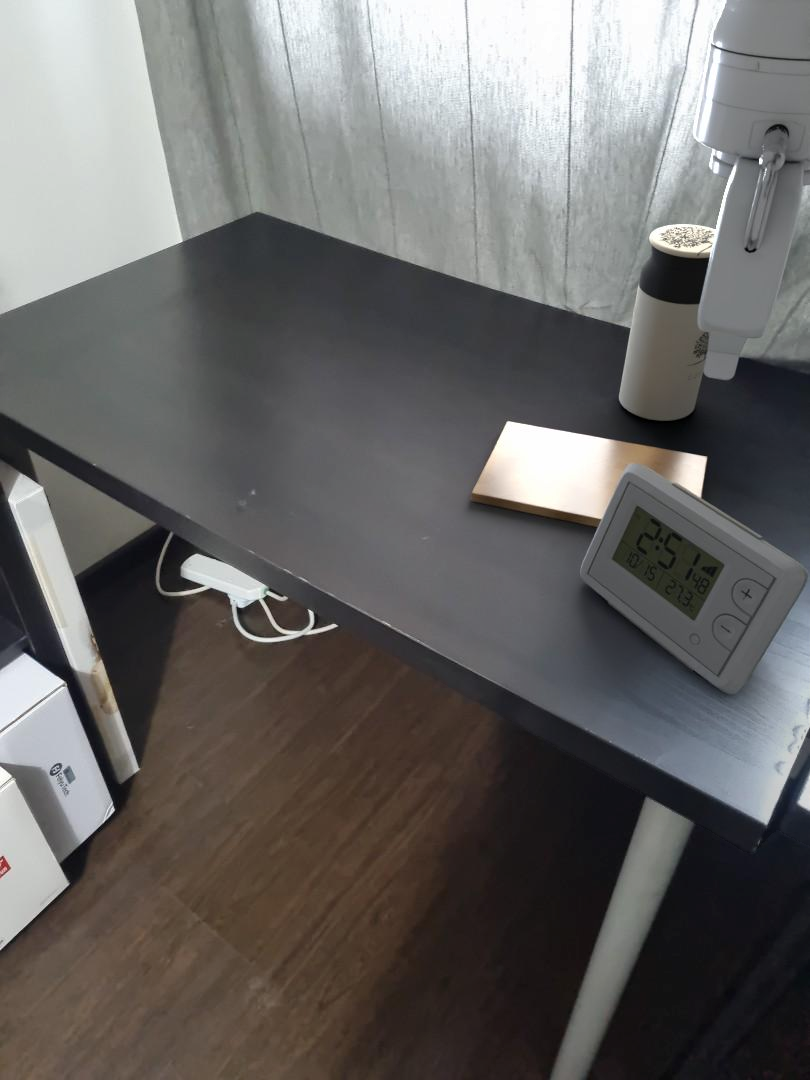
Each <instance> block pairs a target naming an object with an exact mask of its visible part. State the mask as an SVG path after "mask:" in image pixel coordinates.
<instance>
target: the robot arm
mask: <svg viewBox="0 0 810 1080" xmlns="http://www.w3.org/2000/svg"><path fill="white" fill-rule="evenodd" d="M699 92H700V93H699V98H698V102H697V107H696V112H695V114H696V115H695V119H694V125H693V131H692V135H693V137H694V138H695V140H696V141H697V142H698V143H700V144H701V145H703V146H705V147H706V148H709V149H712V152H711V157H710V160H709V168H710V170H711V171H712V172H713V173H714V174H715V175H716V176H718V177H720V178H722V179H724V180H727V181H728V182H727V185H726V188H725V191H724V193H723V194H724V195H723V199H722V202H721V207H720V211H719V215H718V218H717V224H716V229H715V230H716V232H715V237H714V241H713V246H712V250H711V254H710V259H709V263H708V268H707V273H706V277H705V282H704V286H703V291H702V295H701V300H700V304H699V309H698V318H697V323H698V327H699V329H700V330H702V331H704V332H709V343H708V352H707V356H706V361H705V365H704V370H703V375H705V377H707V378H709V379H714V380H721V381H722V380H723V381H730V380H731V379H733V378H734V376H735V374H736V371H737V367H738V363H739V359H740V355H741V353H742V351H743V349H744V346H745V344H746V342H747V340H748V339H759V338H761V337H763V336H764V335H765V333H766V332H767V330H768V328H769V325H770V323H771V320H772V318H773V314H774V311H775V306H776V302H777V299H778V296H779V292H780V288H781V285H782V282H783V281H782V280H783V277H784V273H785V269H786V266H787V263H788V259H789V254H790V250H791V247H792V242H793V240H794V235H795V231H796V227H797V224H798V219H799V214H800V210H801V205H802V197H803V189H804V188H803V187H805V186H810V0H723V4H722V7H721V9H720V12H719V14H718V16H717V18H716V20H715V23H714V24H713V27H712V30H711V34H710V37H709V43H708V49H707V56H706V61H705V65H704V71H703V77H702V83H701V88H700V90H699Z"/></svg>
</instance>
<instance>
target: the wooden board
mask: <svg viewBox="0 0 810 1080" xmlns="http://www.w3.org/2000/svg"><path fill="white" fill-rule="evenodd" d="M630 463H638V464H641V465H644V466H646V467H648V468H650V469H651V470H653V471H655V472H656V473H658V474H659V475H661V476H662V477H664V478H666V479H667V480H669V481H670V482H672V483H678V484H679V485H681V486H682V487H684V488H686V489H687V490H689V491H690V492H692V493H693V494H695V495H697V496H698V497H700V498H701V499H702V497H703V491H704V483H705V477H706V470H707V464H708V456H704V455H700V454H694V453H688V452H683V451H677V450H673V449H672V450H671V449H665V448H661V447H655V446H649V445H643V444H639V443H638V444H637V443H632V442H628V441H627V442H626V441H621V440H616V439H610V438H604V437H599V436H593V435H587V434H583V433H582V434H581V433H576V432H570V431H565V430H559V429H553V428H548V427H543V426H537V425H531V424H526V423H520V422H515V421H509V420H508V421H506V423H505V425H504V427H503V430H502V431H501V433H500V435H499V437H498V439H497V441H496V443H495V445H494V447H493V450H492V451H491V453H490V456H489V457H488V459H487V462H486V463H485V465H484V467H483V469H482V471H481V474H480V475H479V478H478V479H477V481H476V484H475V485H474V487H473V490H472V492H471V497H470V501H471V502H475V503H478V504H484V505H489V506H493V507H499V508H503V509H507V510H513V511H517V512H521V513H528V514H532V515H537V516H542V517H546V518H551V519H556V520H561V521H565V522H571V523H575V524H579V525H585V526H590V527H595V528H598V526H599V524H600V522H601V520H602V517H603V515H604V513H605V511H606V508H607V506H608V504H609V502H610V499H611V497H612V495H613V493H614V491H615V488H616V486H617V484H618V482H619V479H620V477H621V475H622V473H623V471H624V470H625V468H626V467H627V466H628V465H629V464H630Z"/></svg>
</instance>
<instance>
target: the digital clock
mask: <svg viewBox="0 0 810 1080" xmlns="http://www.w3.org/2000/svg"><path fill="white" fill-rule="evenodd" d="M579 574H580V577H581V580H582V581H583V582H584V583H585V584H586V585H588V586H589V587H590V588H591V589H592V590H594V591H595V592H596V593H597V594H598V595H600V597H602V598H604V600H606V601H607V604H608V605H609V606H611V607H612V608H614V609H615V610H616V612H618V613H619V614H621V615H622V616H623V617H625V618H626V619H627V620H628V621H630V622H631V623H632V624H633V625H634V626H636V627H637V628H638V629H640V630H641V631H642V632H643V633H644V634H646V635H647V636H648V637H649V638H650V639H652V640H653V641H655V642H656V644H658V645H659V646H661V647H662V648H663V649H665V650H666V651H667V652H668V653H669V654H671V655H672V656H673V657H674V658H676V659H677V660H678V661H679V662H680V663H682V664H683V665H684V666H686V667H687V668H688V669H690V670H691V671H692V672H694V671H695V672H696V673H697V674H699V675H700V677H703V679H705V680H706V681H708V683H710V684H711V685H713V686H714V687H716V688H717V689H719V690H720V691H721V692H723V693H724V694H727V695H735V694H737V693H739V692H740V691H742V689H743V688H744V687H745V686H746V684H747V683H748V681H749V680H750V678H751V677H752V675H753V673H754V672H755V670H756V668H757V667H758V665H759V663H760V662H761V660H762V658H763V657H764V655H765V653H766V652H767V650H768V649H769V647H770V645H771V644H772V642H773V640H774V638H775V637H776V635H777V634H778V632H779V630H780V628H781V627H782V625H783V624H784V622H785V620H786V619H787V617H788V615H789V614H790V612H791V610H792V609H793V607H794V606H795V604H796V603H797V601H798V599H799V597H800V596H801V594H802V592H803V590H804V588H805V587H806V584H807V583H808V578H809V573H808V571H807V569H806V567H804V566H803V565H802V564H801V563H799V562H798V561H797V560H796V559H794V558H792V557H791V556H790V555H788V554H786V553H784V552H783V551H781V550H780V549H779V548H777V547H775V546H773V545H772V544H771V543H769V542H767V541H766V540H765V539H764V537H763V536H762V535H760V534H759V533H757V532H755V531H754V530H752V529H751V528H749V527H748V526H746V525H744V524H743V523H742V522H739V521H738V520H737V519H735V518H733V517H732V516H730V515H729V514H727V513H725V512H723V511H722V510H721V509H720V508H718V507H716V506H714V505H713V504H711V503H709V502H708V501H706V500H705V499H703V498H702V497H701V498H700V497H698V496H697V495H695V494H693V493H692V492H690V491H689V490H687V489H686V488H684V487H682V486H681V485H679V484H678V483H672V482H670V481H669V480H667V479H666V478H664V477H662V476H661V475H659V474H658V473H656V472H655V471H653V470H651V469H650V468H648V467H646V466H644V465H641V464H638V463H630V464H629V465H628V466H627V467H626V468H625V470H624V471H623V473H622V475H621V477H620V479H619V482H618V484H617V486H616V488H615V491H614V493H613V495H612V497H611V499H610V502H609V504H608V506H607V508H606V511H605V513H604V515H603V517H602V520H601V522H600V524H599V526H598V527H597V528H596V531H595V533H594V535H593V537H592V540H591V542H590V545H589V547H588V549H587V551H586V553H585V555H584V557H583V560H582V562H581V565H580V570H579Z"/></svg>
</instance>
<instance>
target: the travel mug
mask: <svg viewBox="0 0 810 1080" xmlns="http://www.w3.org/2000/svg"><path fill="white" fill-rule="evenodd" d="M715 232H716V229H715V228H712V227H709V226H704V225H697V224H687V223H686V224H683V223H682V224H680V223H679V224H669V225H664V226H661V227H657V228H656V229H654V230H653V231H652V232H651V233H650V234H649V237H648V239H649V243H650V245H651V246H650V247H651V250H650V252H651V253H650V255H649V256H648V257H647V259H646V260H645V262H643V264H642V266H641V268H640V273H639V274H640V275H639V281H638V285H637V292H636V296H635V297H636V298H635V301H634V308H633V315H632V321H631V326H630V331H629V337H628V342H627V348H626V354H625V359H624V365H623V371H622V377H621V381H620V382H621V383H620V388H619V394H618V401H619V403H620V405H621V406H622V407H623V409H626V410H627V411H628V412H630V413H631V414H633V415H635V416H638V417H640V418H643V419H647V420H653V421H661V422H664V421H676V420H680V419H683V418H686V417H687V416H689V415H690V414H692V413H693V412H694V410H695V408H696V403H697V399H698V395H699V390H700V388H701V387H700V386H701V382H702V377H703V375H704V372H703V370H704V365H705V361H706V356H707V352H708V343H709V332H704V331H702V330H700V329H699V327H698V323H697V318H698V309H699V304H700V300H701V295H702V291H703V286H704V282H705V277H706V273H707V268H708V263H709V259H710V254H711V250H712V246H713V241H714V237H715Z"/></svg>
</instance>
